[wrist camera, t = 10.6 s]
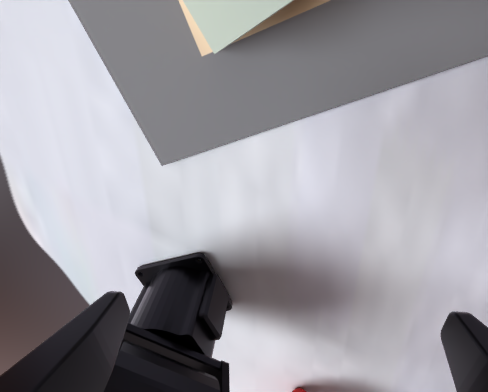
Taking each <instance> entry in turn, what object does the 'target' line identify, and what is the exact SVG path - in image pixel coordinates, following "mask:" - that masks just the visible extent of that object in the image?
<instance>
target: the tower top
mask: <svg viewBox="0 0 488 392" xmlns="http://www.w3.org/2000/svg"><path fill="white" fill-rule="evenodd" d="M292 1H294V0H183V2H184V3H185V5H186V7H187V9H188V10H189V12H190V14H191V15H192V17H193V19H194V20H195V22H196V24H197V25H198V27H199V29H200V31H201V32H202V34H203V36H204V37H205V39H206V41H207V42H208V44H209V46H210V48H211V49H212V51H213V53H214V54H216V53H217V52H219V51H221V50H222V49H224V48H226V47H227V46H228V45H230V44H231V43H233V42H234V41H236V40H237V39H239V38H240V37H241V36H243V35H244V34H246V33H247V32H249V31H250V30H252V29H253V28H255V27H256V26H257V25H259V24H260V23H262V22H263V21H265V20H266V19H268V18H269V17H270V16H272V15H273V14H275V13H276V12H278V11H279V10H281V9H282V8H284V7H285V6H286V5H288V4H289V3H291V2H292Z"/></svg>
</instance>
